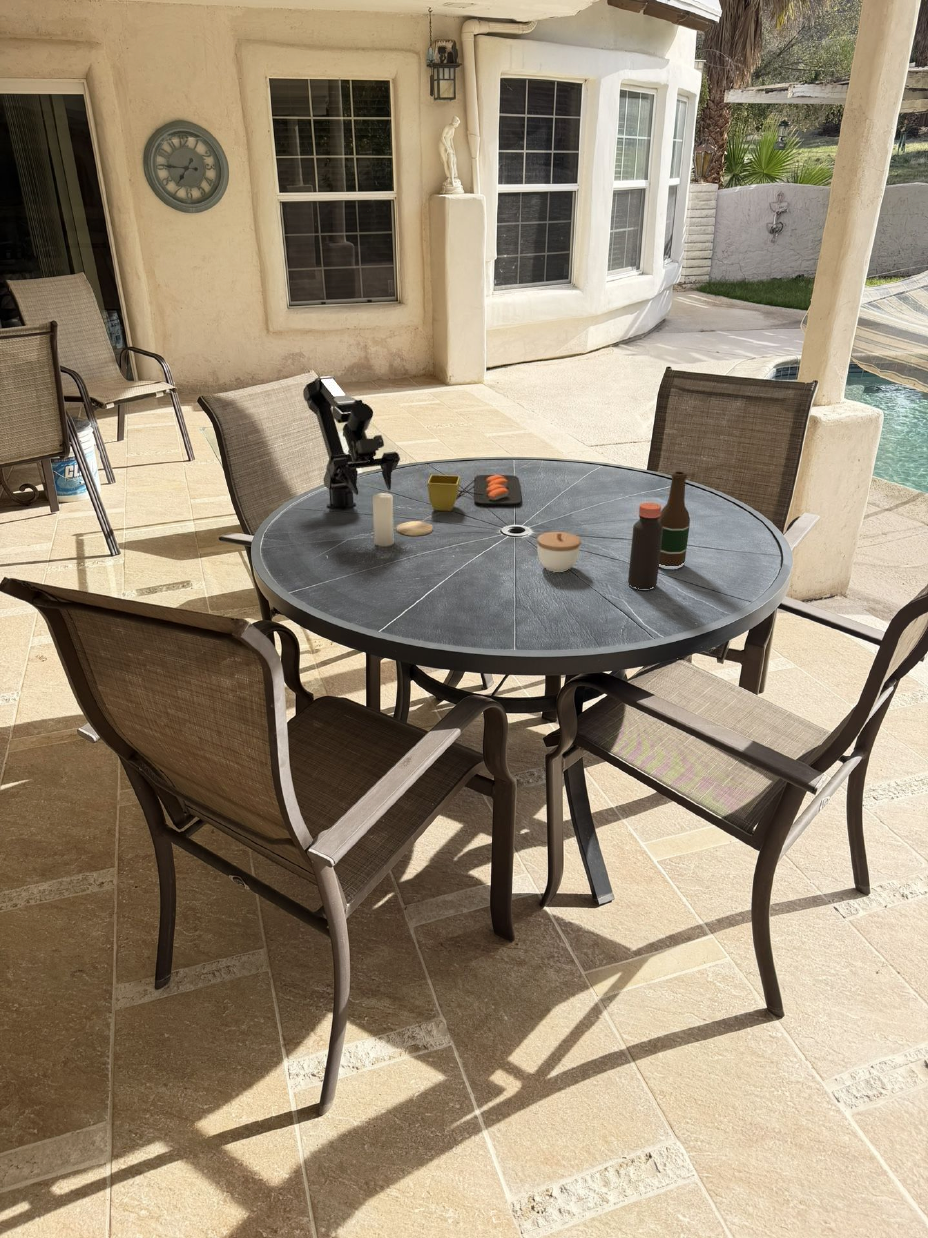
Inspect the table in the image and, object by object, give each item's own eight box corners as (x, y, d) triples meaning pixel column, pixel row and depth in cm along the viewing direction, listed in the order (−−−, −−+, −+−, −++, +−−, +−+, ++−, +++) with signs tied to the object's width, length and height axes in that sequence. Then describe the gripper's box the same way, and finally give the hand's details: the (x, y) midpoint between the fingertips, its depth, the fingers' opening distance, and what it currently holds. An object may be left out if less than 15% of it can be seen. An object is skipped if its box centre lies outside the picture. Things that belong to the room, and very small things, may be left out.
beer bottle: (685, 561, 221) (697, 470, 211) (682, 572, 215) (694, 478, 204) (655, 557, 224) (665, 466, 213) (650, 568, 217) (661, 475, 206)
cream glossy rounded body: (370, 543, 231) (368, 497, 225) (382, 538, 235) (380, 492, 229) (386, 547, 229) (384, 500, 223) (397, 541, 233) (396, 495, 227)
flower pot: (460, 504, 261) (460, 475, 257) (457, 513, 254) (457, 484, 250) (431, 503, 262) (431, 474, 258) (427, 512, 254) (427, 482, 250)
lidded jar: (550, 579, 210) (552, 543, 206) (527, 564, 219) (529, 529, 215) (587, 571, 215) (589, 536, 211) (563, 557, 223) (565, 523, 219)
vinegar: (650, 593, 203) (659, 512, 194) (623, 587, 206) (630, 507, 198) (660, 583, 208) (669, 504, 199) (634, 577, 211) (641, 499, 203)
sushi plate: (521, 509, 259) (522, 497, 258) (422, 507, 260) (421, 495, 258) (518, 480, 286) (518, 469, 284) (427, 479, 286) (427, 468, 284)
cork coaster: (389, 531, 240) (389, 529, 239) (410, 521, 247) (410, 519, 247) (419, 538, 235) (419, 536, 235) (439, 527, 243) (439, 525, 242)
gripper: (330, 428, 225) (346, 481, 221) (396, 421, 232) (413, 472, 228) (322, 451, 234) (338, 502, 230) (386, 444, 242) (403, 492, 238)
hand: (373, 491), depth 231 cm, fingers open, 9 cm apart
